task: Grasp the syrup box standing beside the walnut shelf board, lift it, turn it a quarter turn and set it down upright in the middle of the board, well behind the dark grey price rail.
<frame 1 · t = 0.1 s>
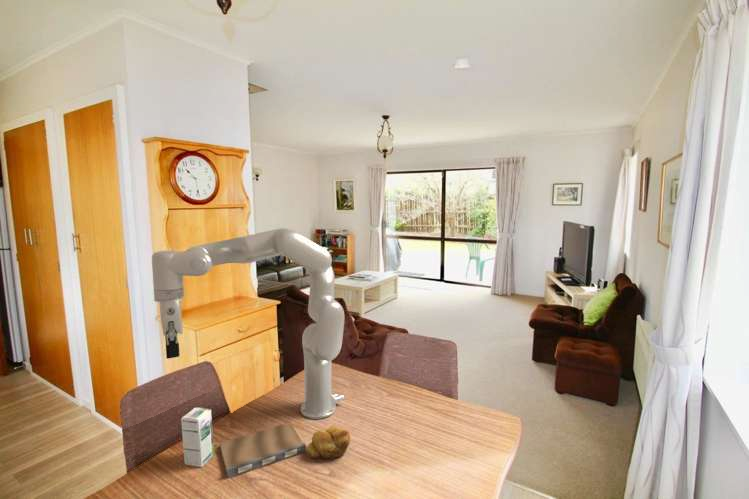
hand: (172, 351, 110), 31 cm above the table, fingers open, 9 cm apart
bread roll: (327, 452, 113), on the table
syrup box: (199, 460, 109), on the table
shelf: (262, 448, 114), on the table
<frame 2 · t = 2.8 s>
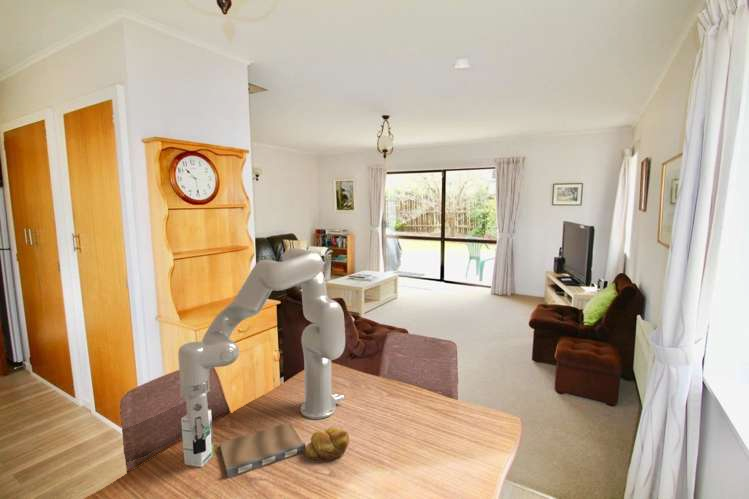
hand: (198, 443, 109), 5 cm above the table, fingers closed on syrup box, 7 cm apart
syrup box: (199, 460, 109), on the table, touching gripper
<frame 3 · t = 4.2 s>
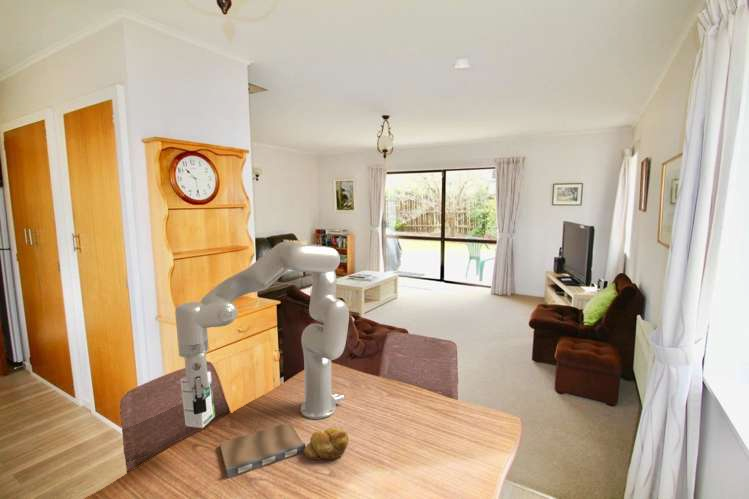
hand: (198, 405, 108), 17 cm above the table, fingers closed on syrup box, 7 cm apart
syrup box: (200, 422, 108), point 11 cm above the table, touching gripper
everything else where it was.
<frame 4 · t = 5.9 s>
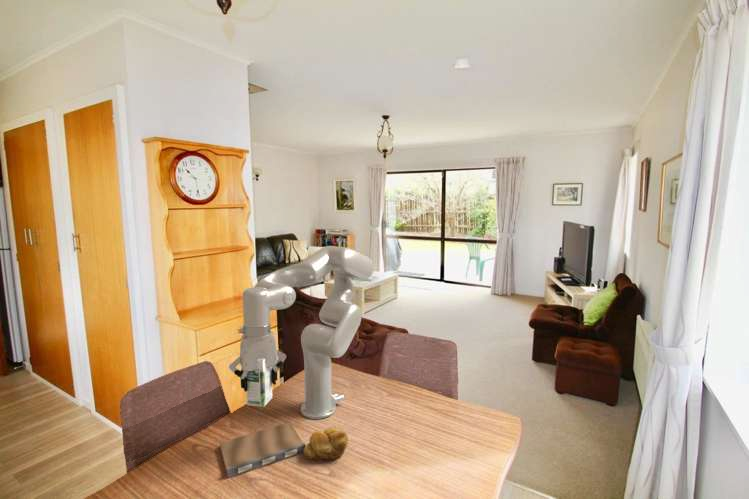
hand: (259, 385, 113), 20 cm above the table, fingers closed on syrup box, 7 cm apart
syrup box: (260, 402, 113), point 15 cm above the table, touching gripper
everything else where it was.
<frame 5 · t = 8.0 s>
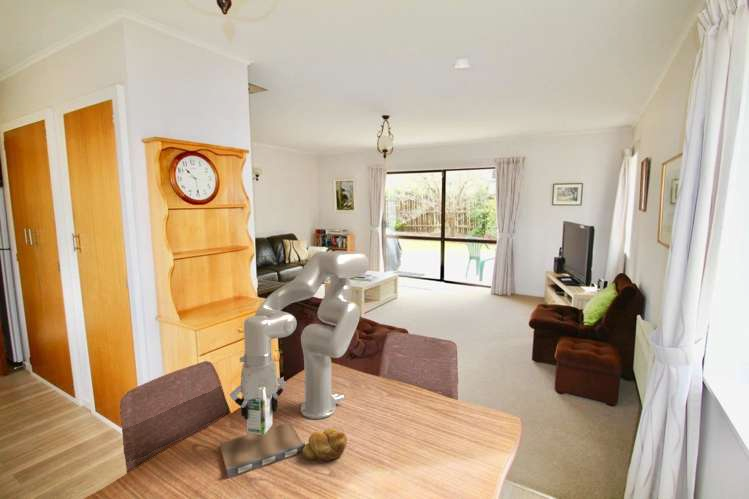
hand: (259, 413, 114), 11 cm above the table, fingers closed on syrup box, 7 cm apart
syrup box: (260, 429, 114), point 6 cm above the table, touching gripper
when the fingers open (8 cm above the table, at t = 9.4 s): syrup box drops 1 cm, resting on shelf.
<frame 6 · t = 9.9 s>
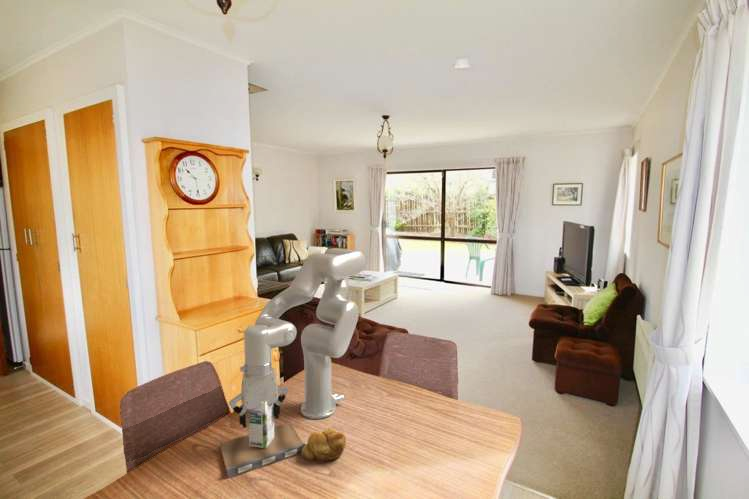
hand: (260, 421, 114), 8 cm above the table, fingers open, 9 cm apart
syrup box: (262, 442, 115), point 1 cm above the table, touching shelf
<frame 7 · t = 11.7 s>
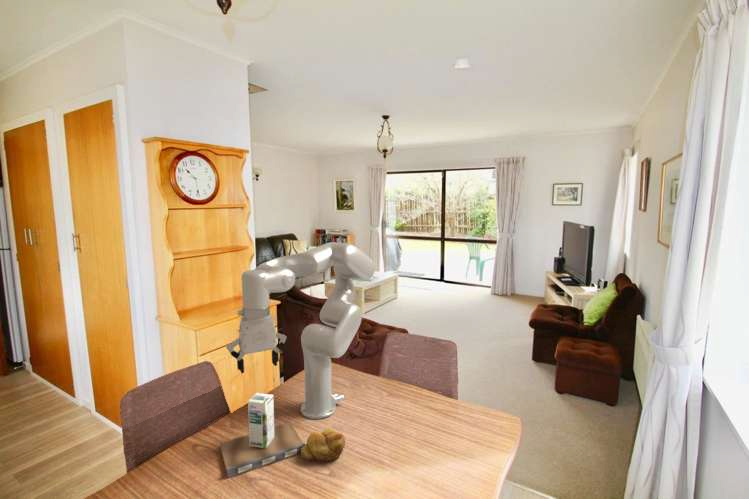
hand: (258, 367, 112), 25 cm above the table, fingers open, 9 cm apart
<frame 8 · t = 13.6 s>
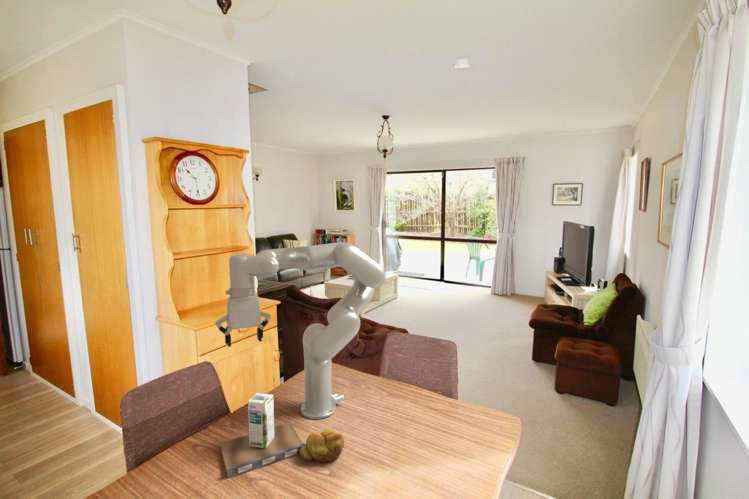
hand: (244, 342, 124), 28 cm above the table, fingers open, 9 cm apart
at the end: syrup box inside the target area on the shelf (1.1 cm from its centre), point 1.3 cm above the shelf's base; syrup box tilted 0°; the gripper is holding nothing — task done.
